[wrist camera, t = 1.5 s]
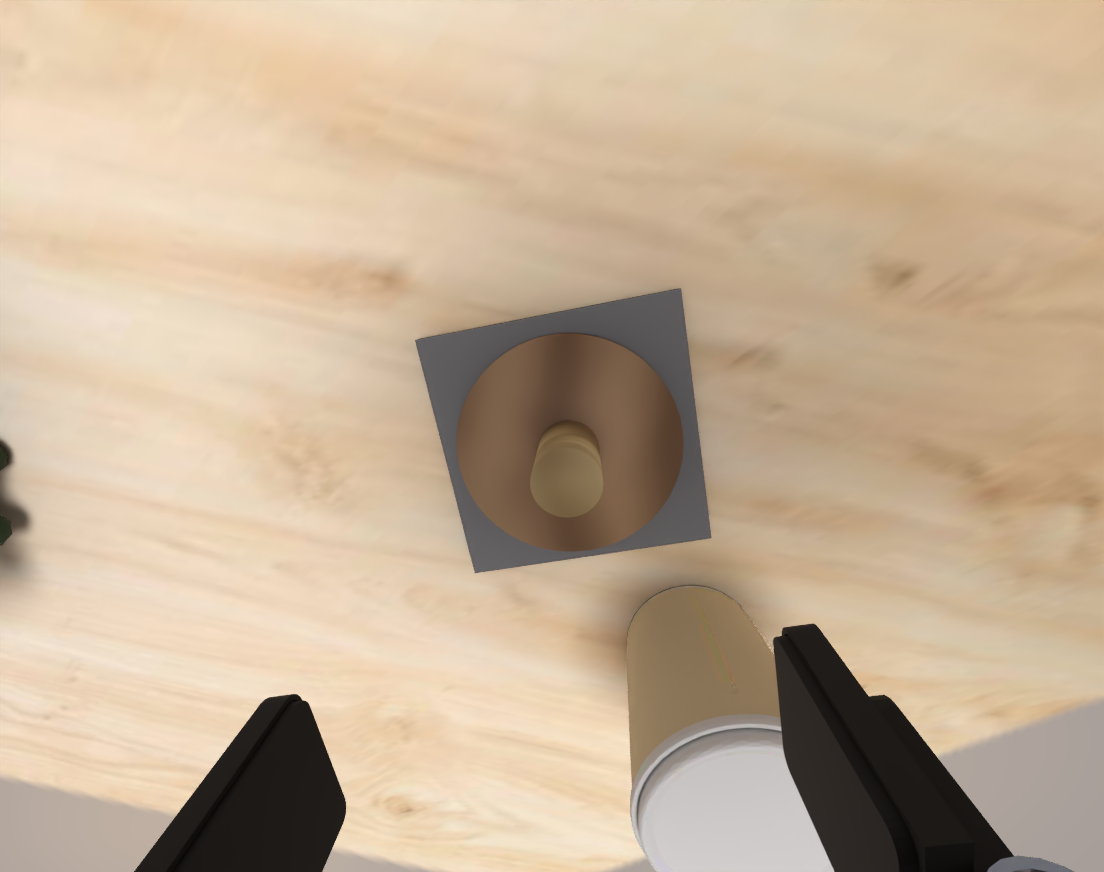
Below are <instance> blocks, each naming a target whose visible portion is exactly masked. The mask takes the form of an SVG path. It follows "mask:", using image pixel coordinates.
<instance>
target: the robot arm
mask: <svg viewBox="0 0 1104 872" xmlns="http://www.w3.org/2000/svg"><path fill="white" fill-rule="evenodd" d="M773 644H774V655H775V666H776V677H777V688H778V699H779V709H780V720H781V731H782V742H783V751H784V756H785V760H786V763H787V766H788V769H789V771H790V774H791V776H792V778H793V781H794V783H795V785H796V787H797V789H798V792H799V794H800V796H801V798H802V801H803V803H804V805H805V807H806V809H807V812H808V814H809V816H810V818H811V821H812V823H813V825H814V827H815V829H816V832H817V834H818V836H819V838H820V841H821V843H822V845H823V847H824V850H825V852H826V854H827V856H828V858H829V861H830V863H831V865H832V867H833V870H834V872H1074V871H1072V870H1070V869H1068V868H1066V867H1064V866H1061V865H1058V864H1055V863H1053V862H1050V861H1047V860H1043V859H1041V858H1033V857H1024V856H1013V855H1012V853H1011V852H1010V850H1009V849H1008V848H1007V847H1006V845H1005V844H1004V843H1003V841H1002V840H1001V839H1000V838H999V836H998V835H997V834H996V832H995V831H994V830H993V829H992V827H991V826H990V825H989V823H988V822H987V821H986V820H985V818H984V817H983V816H982V814H981V813H980V812H979V811H978V809H977V808H976V807H975V805H974V804H973V803H972V802H971V800H970V799H969V798H968V797H967V795H966V794H965V793H964V791H963V790H962V789H961V787H960V786H959V785H958V784H957V782H956V781H955V780H954V779H953V777H952V776H951V775H950V773H949V772H948V771H947V770H946V768H945V767H944V766H943V764H942V763H941V762H940V760H939V759H938V758H937V757H936V755H935V754H934V753H933V751H932V750H931V749H930V748H929V746H928V745H927V744H926V742H925V741H924V740H923V739H922V737H921V736H920V735H919V734H918V732H917V731H916V730H915V728H914V727H913V726H912V725H911V723H910V722H909V721H908V719H907V718H906V717H905V716H904V714H903V713H902V712H901V710H900V709H899V708H898V707H897V705H896V704H895V703H894V702H893V701H892V700H891V699H890V698H889V697H887V696H885V695H879V696H871V697H869V696H868V695H867V694H866V692H865V691H864V690H863V688H862V687H861V685H860V684H859V683H858V681H857V680H856V679H855V677H854V676H853V674H852V673H851V672H850V670H849V669H848V668H847V666H846V665H845V663H844V662H843V661H842V659H841V658H840V657H839V655H838V654H837V652H836V651H835V650H834V648H833V647H832V646H831V644H830V643H829V641H828V640H827V639H826V637H825V636H824V635H823V633H822V632H821V630H820V629H819V628H818V627H817V626H816V625H815V624H807V625H799V626H792V627H785V628H783V630H782V636H780V637H775V638H774V640H773ZM345 814H346V801H345V798H344V795H343V792H342V790H341V787H340V784H339V782H338V779H337V776H336V774H335V771H334V769H333V766H332V763H331V761H330V758H329V755H328V753H327V750H326V748H325V745H324V742H323V740H322V737H321V734H320V732H319V729H318V726H317V724H316V721H315V719H314V716H313V713H312V711H311V708H310V706H309V704H308V702H306V701H302V699H301V697H300V696H298V695H297V694H291V695H284V696H277V697H269V698H267V699H265V700H264V701H263V702H262V703H261V704H260V705H259V707H258V708H257V709H256V711H255V712H254V713H253V715H252V716H251V717H250V719H249V720H248V721H247V723H246V724H245V725H244V727H243V728H242V729H241V731H240V732H239V733H238V735H237V736H236V737H235V739H234V740H233V741H232V743H231V744H230V745H229V747H228V748H227V749H226V751H225V752H224V753H223V755H222V756H221V757H220V759H219V760H218V761H217V763H216V764H215V765H214V766H213V768H212V769H211V770H210V772H209V773H208V774H207V776H206V777H205V778H204V780H203V781H202V782H201V784H200V785H199V786H198V788H197V789H196V790H195V792H194V793H193V794H192V796H191V797H190V798H189V800H188V801H187V802H186V804H185V805H184V806H183V808H182V809H181V810H180V812H179V813H178V814H177V816H176V817H175V818H174V820H173V821H172V823H171V824H170V825H169V826H168V827H167V829H166V830H165V831H164V833H163V834H162V835H161V837H160V838H159V839H158V841H157V842H156V843H155V845H154V846H153V848H152V849H151V850H150V851H149V853H148V854H147V855H146V857H145V858H144V859H143V861H142V862H141V864H140V865H139V866H138V867H137V869H136V870H135V871H134V872H322V870H323V868H324V866H325V864H326V861H327V859H328V857H329V854H330V852H331V850H332V847H333V845H334V843H335V841H336V838H337V836H338V834H339V831H340V829H341V827H342V824H343V822H344V819H345Z"/></svg>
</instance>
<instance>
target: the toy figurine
mask: <svg viewBox="0 0 1104 872" xmlns="http://www.w3.org/2000/svg"><path fill="white" fill-rule="evenodd" d="M6 462H7V454H6V453H5V451H4V450H3V449H2V447H1V446H0V470H1V469H2V468H4V467H5V466H6ZM11 534H12V528H11V522H10V521H9V520H7V519H6V518H4V517H3V516H1V515H0V545H2V544H3V543H4V542H5V541H6V540H7V539H8V538H9V536H10V535H11Z"/></svg>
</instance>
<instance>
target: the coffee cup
mask: <svg viewBox="0 0 1104 872" xmlns="http://www.w3.org/2000/svg"><path fill="white" fill-rule="evenodd" d="M627 675H628V704H629V731H630V756H631V774H632V790H631V798H630V813H631V821H632V826H633V830H634V833H635V837H636V839H637V841H638V843H639V845H640V847H641V849H642V850H643V852H644V853H645V855H646V857H647V859H648V861H649V862H650V864H651V865H652V867H653V868H654V869H655V871H656V872H834V870H833V867H832V865H831V863H830V861H829V858H828V856H827V854H826V852H825V850H824V847H823V845H822V843H821V841H820V838H819V836H818V834H817V832H816V829H815V827H814V825H813V823H812V821H811V818H810V816H809V814H808V812H807V809H806V807H805V805H804V803H803V801H802V798H801V796H800V794H799V792H798V789H797V787H796V785H795V783H794V781H793V778H792V776H791V774H790V771H789V769H788V766H787V763H786V760H785V756H784V751H783V742H782V731H781V720H780V709H779V699H778V688H777V677H776V666H775V656H774V655H773V653H772V652H771V650H770V649H769V647H768V646H767V644H766V643H765V641H764V640H763V638H762V636H761V635H760V633H759V632H758V630H757V629H756V627H755V626H754V625H753V623H752V622H751V620H750V619H749V617H748V616H747V614H746V613H745V612H744V611H743V609H742V608H741V607H740V606H739V605H738V604H737V603H736V602H735V601H734V600H733V599H731V598H730V597H728V596H727V595H725V594H723V593H721V592H719V591H717V590H714V589H711V588H708V587H702V586H681V587H675V588H671V589H668V590H665V591H663V592H660V593H659V594H657V595H655V596H653V597H652V598H650V599H649V600H648V601H647V602H645V603H644V604H643V605H642V606H641V608H640V609H639V610H638V611H637V613H636V614H635V616H634V617H633V620H632V622H631V624H630V627H629V630H628V636H627Z"/></svg>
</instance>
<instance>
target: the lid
mask: <svg viewBox="0 0 1104 872" xmlns="http://www.w3.org/2000/svg"><path fill="white" fill-rule="evenodd" d="M456 445H457V457H458V463H459V468H460V471H461V474H462V477H463V480H464V483H465V485H466V487H467V489H468V491H469V493H470V495H471V497H472V498H473V500H474V501H475V503H476V504H477V506H478V507H479V508H480V509H481V511H482V512H483V513H484V514H485V515H486V516H487V517H488V518H489V519H490V520H491V521H492V522H493V523H494V524H495V525H496V526H498V527H499V528H500V529H502V530H503V531H505V532H506V533H507V534H509V535H511V536H513V537H515V538H516V539H518V540H520V541H523V542H525V543H528V544H530V545H533V546H536V547H540V548H543V549H548V550H555V551H566V552H577V551H588V550H593V549H598V548H602V547H605V546H608V545H611V544H614V543H616V542H618V541H621V540H623V539H625V538H627V537H629V536H630V535H632V534H633V533H635V532H636V531H638V530H639V529H641V528H642V527H643V526H644V525H645V524H647V523H648V522H649V521H650V520H651V519H652V518H653V517H654V516H655V515H656V514H657V513H658V512H659V511H660V509H661V508H662V506H663V505H664V504H665V502H666V501H667V499H668V498H669V496H670V494H671V492H672V490H673V488H674V486H675V484H676V481H677V478H678V476H679V473H680V468H681V464H682V459H683V447H684V442H683V429H682V424H681V419H680V415H679V412H678V409H677V406H676V404H675V401H674V399H673V397H672V395H671V393H670V392H669V390H668V388H667V387H666V385H665V384H664V382H663V381H662V379H661V378H660V377H659V375H658V374H657V373H656V372H655V371H654V370H653V369H652V368H651V367H650V366H649V365H648V364H647V363H646V362H645V361H644V360H643V359H642V358H640V357H639V356H638V355H637V354H635V353H634V352H632V351H631V350H629V349H627V348H626V347H624V346H622V345H621V344H618V343H616V342H614V341H611V340H609V339H606V338H603V337H599V336H595V335H591V334H583V333H556V334H548V335H544V336H541V337H537V338H533V339H531V340H528V341H526V342H524V343H521V344H519V345H517V346H516V347H514V348H512V349H510V350H509V351H507V352H506V353H504V354H503V355H502V356H501V357H499V358H498V359H497V360H495V361H494V362H493V363H492V364H491V365H490V366H489V367H488V368H487V369H486V370H485V371H484V372H483V373H482V374H481V376H480V377H479V378H478V380H477V381H476V382H475V384H474V385H473V387H472V388H471V390H470V392H469V394H468V396H467V398H466V400H465V402H464V405H463V408H462V410H461V413H460V418H459V422H458V426H457V438H456Z"/></svg>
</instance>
